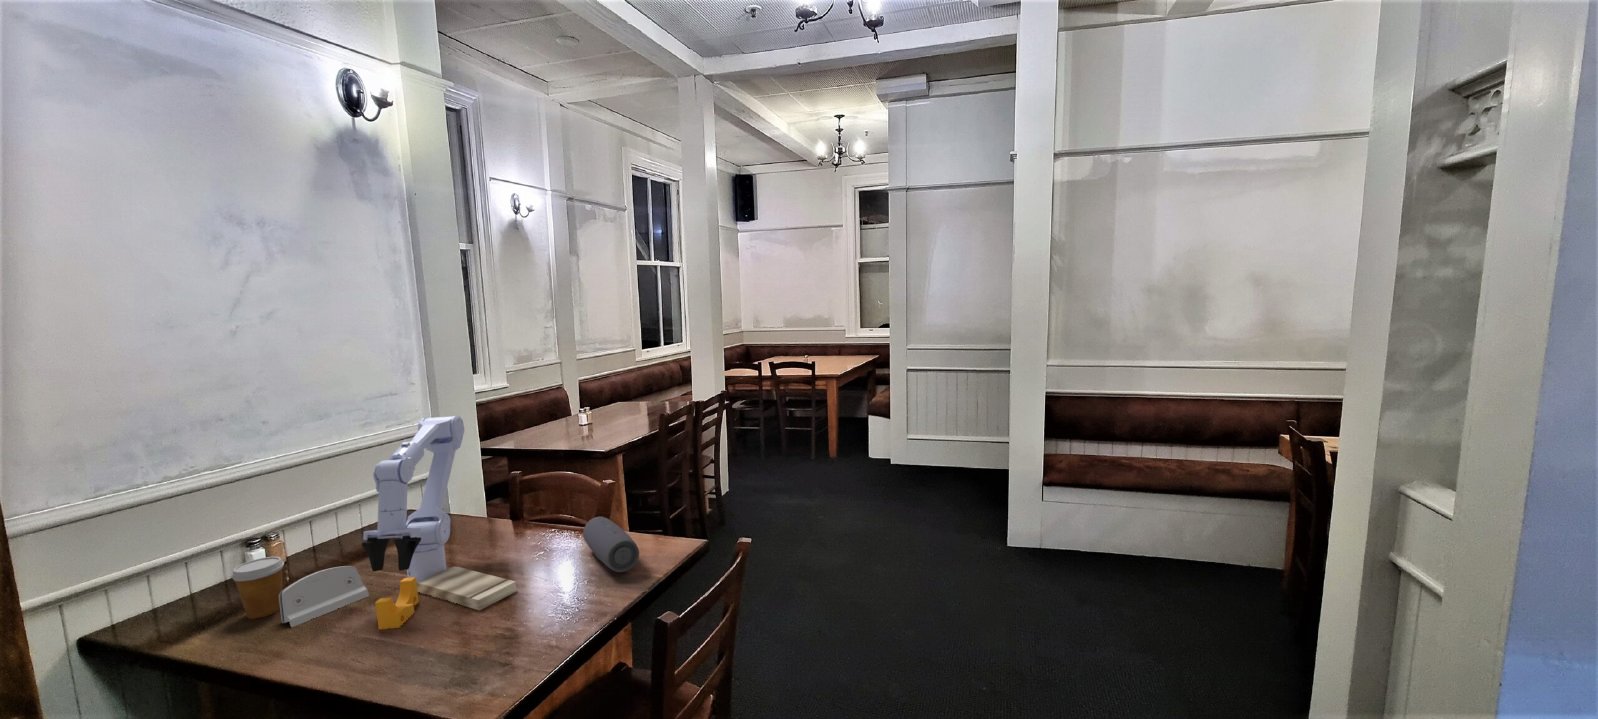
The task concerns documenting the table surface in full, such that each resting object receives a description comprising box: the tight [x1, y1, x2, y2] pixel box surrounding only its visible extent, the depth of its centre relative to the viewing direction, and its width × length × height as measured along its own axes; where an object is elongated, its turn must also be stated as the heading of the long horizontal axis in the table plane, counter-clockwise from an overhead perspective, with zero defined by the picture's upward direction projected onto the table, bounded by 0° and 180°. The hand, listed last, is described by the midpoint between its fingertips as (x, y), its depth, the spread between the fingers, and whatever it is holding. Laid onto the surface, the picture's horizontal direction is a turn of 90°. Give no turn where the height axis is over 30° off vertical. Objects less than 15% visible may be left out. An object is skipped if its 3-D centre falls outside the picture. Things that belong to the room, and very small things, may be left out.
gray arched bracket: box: [279, 565, 370, 628], centre depth 148 cm, size 17×5×10 cm, turn 150°
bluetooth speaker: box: [582, 516, 640, 573], centre depth 166 cm, size 23×9×10 cm, turn 34°
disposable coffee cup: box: [230, 556, 285, 620], centre depth 147 cm, size 10×10×12 cm
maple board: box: [417, 565, 517, 611], centre depth 153 cm, size 24×10×3 cm, turn 63°
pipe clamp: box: [374, 577, 420, 630], centre depth 142 cm, size 12×4×6 cm, turn 6°
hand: (390, 570), depth 144 cm, fingers open, 7 cm apart
